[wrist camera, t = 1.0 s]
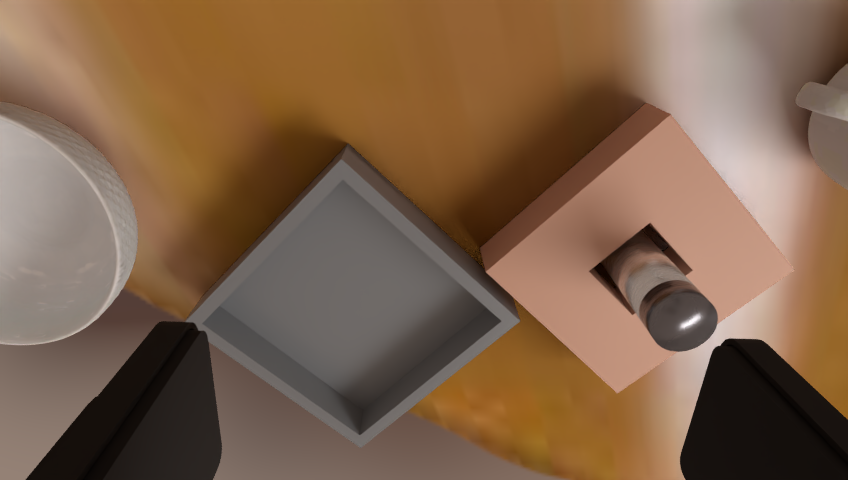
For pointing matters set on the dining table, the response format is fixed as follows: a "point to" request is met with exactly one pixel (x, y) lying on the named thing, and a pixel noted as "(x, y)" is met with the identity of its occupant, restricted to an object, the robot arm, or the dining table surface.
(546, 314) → the hitch block
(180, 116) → the dining table surface
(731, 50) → the dining table surface
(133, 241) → the cereal bowl
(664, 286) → the pin
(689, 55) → the dining table surface
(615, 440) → the dining table surface
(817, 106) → the teacup
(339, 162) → the tray
